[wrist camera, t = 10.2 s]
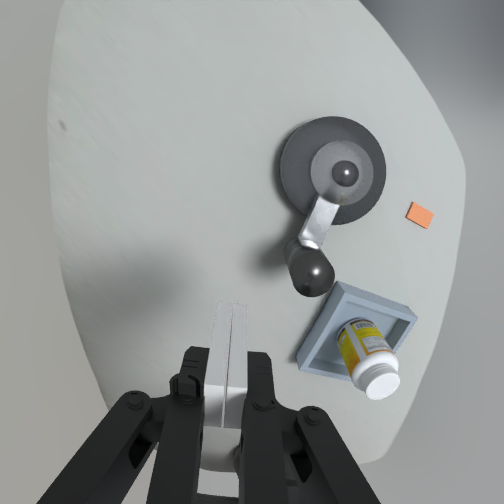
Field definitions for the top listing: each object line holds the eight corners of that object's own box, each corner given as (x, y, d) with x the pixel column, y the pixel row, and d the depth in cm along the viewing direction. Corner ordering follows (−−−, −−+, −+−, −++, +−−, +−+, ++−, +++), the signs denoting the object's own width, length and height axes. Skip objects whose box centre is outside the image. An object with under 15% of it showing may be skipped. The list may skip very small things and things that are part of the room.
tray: (365, 371, 39) (371, 385, 37) (295, 355, 38) (299, 370, 35) (408, 306, 36) (418, 318, 33) (337, 280, 34) (344, 292, 31)
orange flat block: (425, 228, 32) (427, 229, 32) (405, 217, 32) (407, 217, 31) (432, 213, 32) (433, 214, 31) (412, 201, 31) (413, 202, 31)
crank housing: (354, 235, 32) (360, 240, 31) (263, 197, 31) (264, 200, 29) (392, 146, 29) (400, 147, 27) (302, 101, 28) (306, 98, 26)
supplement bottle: (346, 358, 37) (368, 412, 28) (328, 332, 36) (349, 388, 26) (381, 335, 36) (412, 385, 27) (365, 308, 35) (398, 358, 25)
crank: (321, 130, 27) (341, 126, 21) (374, 157, 27) (403, 161, 21) (267, 258, 31) (272, 285, 25) (319, 277, 32) (334, 305, 26)
